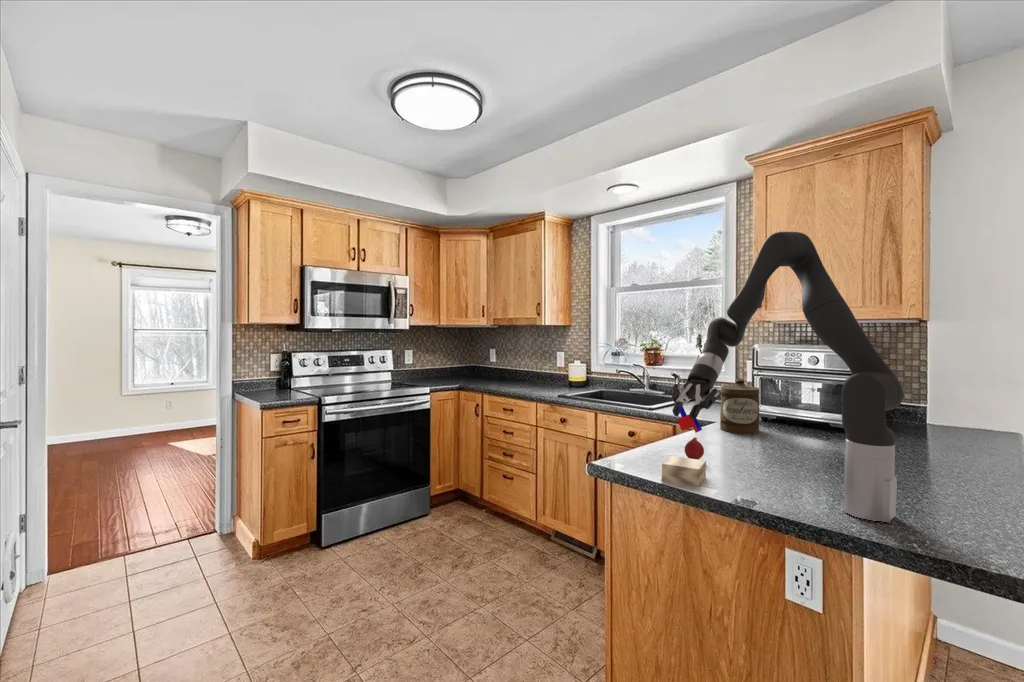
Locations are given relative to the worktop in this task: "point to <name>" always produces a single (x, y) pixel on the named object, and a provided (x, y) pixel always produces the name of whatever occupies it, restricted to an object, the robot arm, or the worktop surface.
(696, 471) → the maple block
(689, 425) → the toy building block
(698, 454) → the onion
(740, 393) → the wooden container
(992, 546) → the worktop surface
